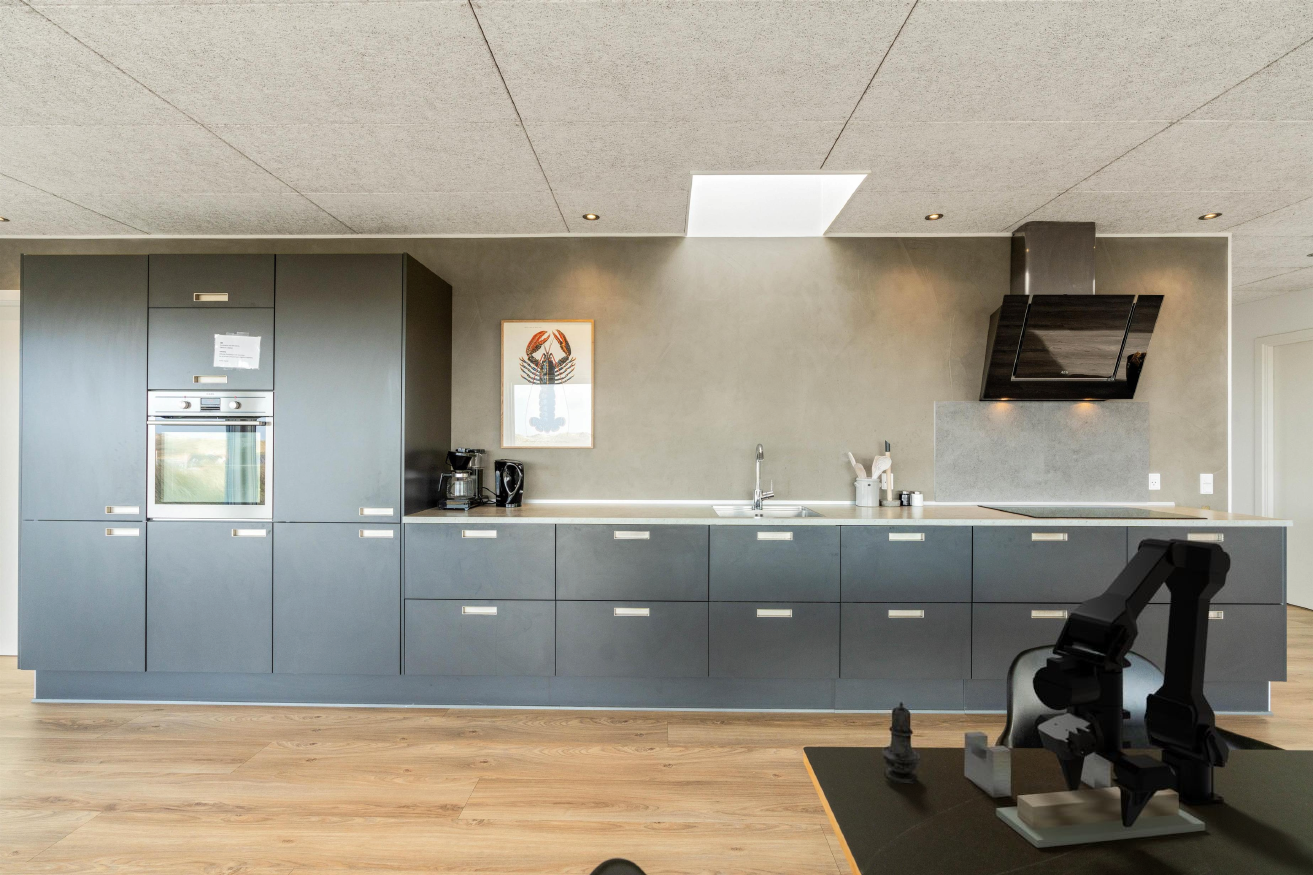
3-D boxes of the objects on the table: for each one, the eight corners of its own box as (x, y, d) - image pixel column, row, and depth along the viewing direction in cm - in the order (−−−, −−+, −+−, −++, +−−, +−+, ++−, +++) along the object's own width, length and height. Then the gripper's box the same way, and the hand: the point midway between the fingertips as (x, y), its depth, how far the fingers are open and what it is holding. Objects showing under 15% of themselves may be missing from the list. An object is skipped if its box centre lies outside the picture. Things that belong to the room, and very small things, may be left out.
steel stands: (1075, 766, 111) (1075, 724, 112) (1110, 786, 105) (1110, 742, 105) (964, 775, 108) (964, 732, 108) (993, 797, 101) (993, 751, 101)
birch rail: (1159, 803, 98) (1159, 782, 98) (1178, 814, 95) (1178, 793, 95) (1017, 816, 94) (1017, 795, 94) (1033, 828, 91) (1033, 806, 91)
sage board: (1152, 800, 101) (1152, 793, 101) (1204, 830, 93) (1204, 822, 93) (996, 815, 96) (996, 808, 96) (1037, 847, 88) (1037, 840, 88)
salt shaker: (923, 786, 104) (923, 710, 104) (884, 782, 105) (884, 706, 105) (916, 769, 110) (916, 696, 110) (879, 765, 111) (880, 693, 111)
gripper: (1004, 679, 102) (1003, 780, 102) (1106, 729, 84) (1106, 852, 84) (1066, 676, 104) (1066, 775, 104) (1179, 724, 86) (1179, 844, 86)
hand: (1099, 808), depth 94 cm, fingers open, 9 cm apart
